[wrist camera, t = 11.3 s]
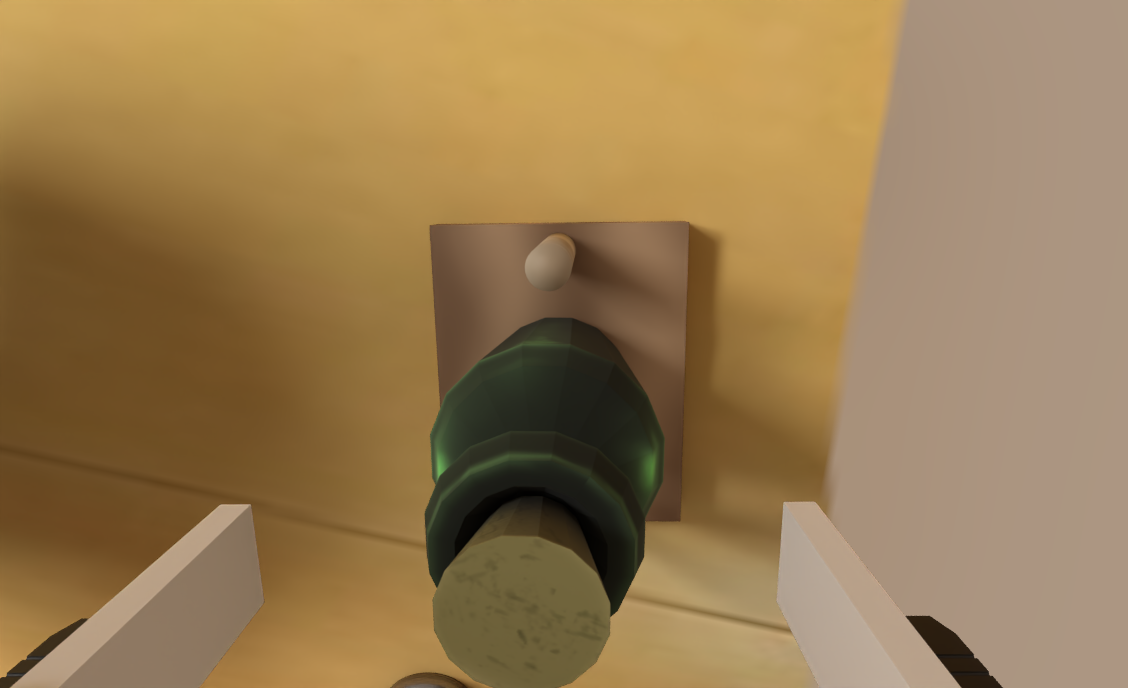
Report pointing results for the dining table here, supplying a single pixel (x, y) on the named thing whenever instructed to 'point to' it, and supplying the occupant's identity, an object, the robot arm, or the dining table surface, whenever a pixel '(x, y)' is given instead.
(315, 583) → the dining table surface
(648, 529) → the dining table surface
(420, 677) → the ring nut stud
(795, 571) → the robot arm
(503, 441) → the potion bottle
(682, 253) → the rack
